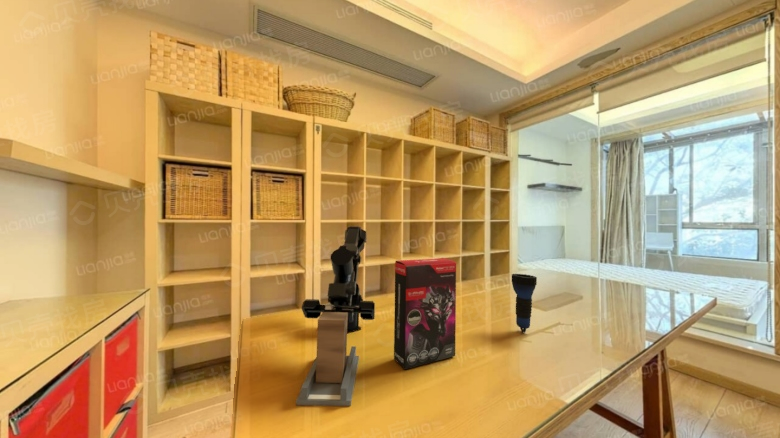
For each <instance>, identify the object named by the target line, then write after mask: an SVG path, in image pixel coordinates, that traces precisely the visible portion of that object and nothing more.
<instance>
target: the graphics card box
mask: <svg viewBox="0 0 780 438" xmlns="http://www.w3.org/2000/svg"><path fill="white" fill-rule="evenodd" d="M456 292H457V262H456V261H455V260H452V259H449V258H444V257H441V258H428V259H426V258H425V259H424V258H423V259H405V260H395V262H394V320H393V321H394V329H393V330H394V332H393V333H394V334H393V336H394V337H393V358H394V359H393V360H394V361H396V362H397V363H398V364H399V365H400V366H401V367H402V369H404V370H409V369H413V368H416V367H420V366H422V365H423V366H424V365H426V364H430V363H434V362H438V361H442V360H444V359H445V360H446V359H448V358H452V357H455V356H456V331H457V330H456V326H457V325H456V324H457V323H456V320H457V319H456V318H457V317H456V316H457V315H456V313H457V309H456V307H457V299H456V298H457V293H456Z"/></svg>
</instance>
